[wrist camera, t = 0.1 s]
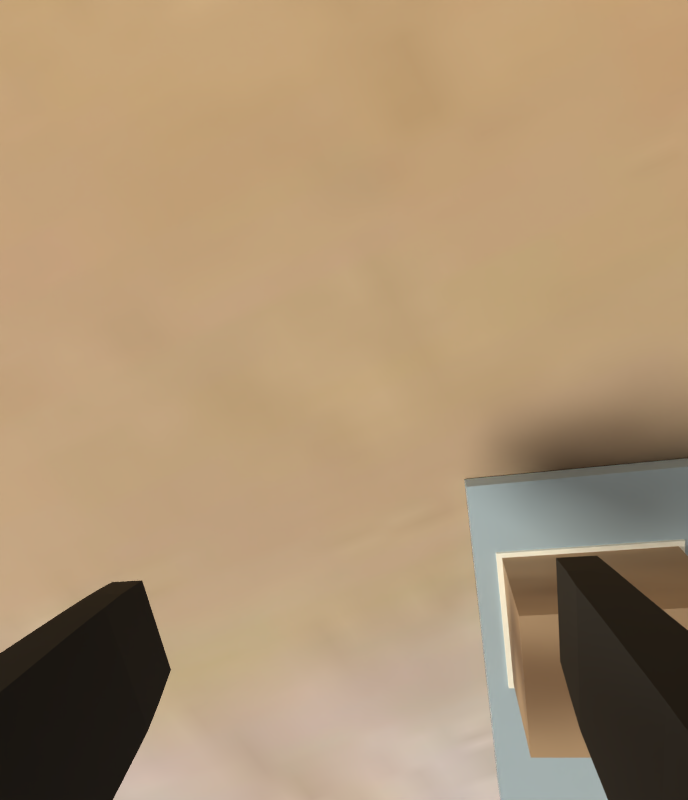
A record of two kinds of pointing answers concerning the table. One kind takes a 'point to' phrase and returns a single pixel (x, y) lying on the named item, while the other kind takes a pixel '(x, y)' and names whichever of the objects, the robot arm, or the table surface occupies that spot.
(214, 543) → the table surface
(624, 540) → the board
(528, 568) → the walnut block
